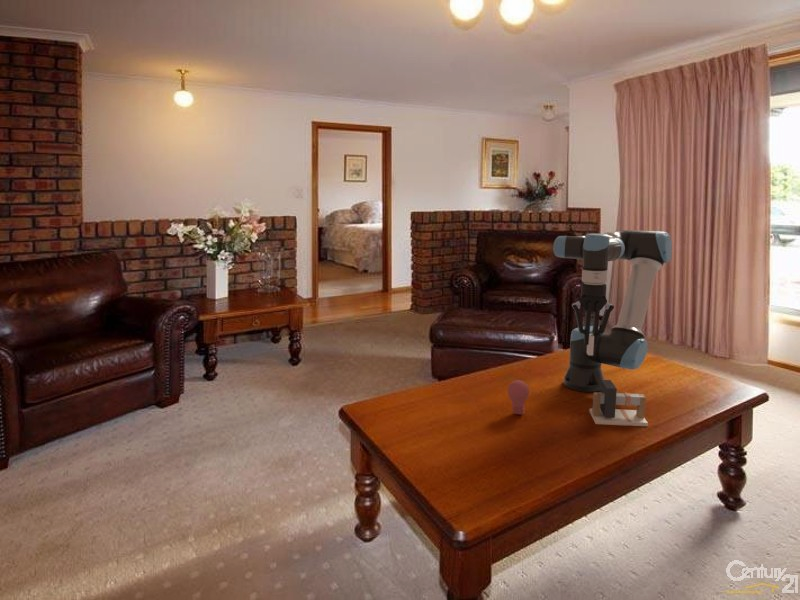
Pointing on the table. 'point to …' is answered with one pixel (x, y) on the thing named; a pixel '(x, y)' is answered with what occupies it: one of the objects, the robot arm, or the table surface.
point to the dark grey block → (608, 398)
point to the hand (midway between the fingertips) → (589, 354)
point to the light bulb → (518, 395)
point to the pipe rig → (620, 410)
